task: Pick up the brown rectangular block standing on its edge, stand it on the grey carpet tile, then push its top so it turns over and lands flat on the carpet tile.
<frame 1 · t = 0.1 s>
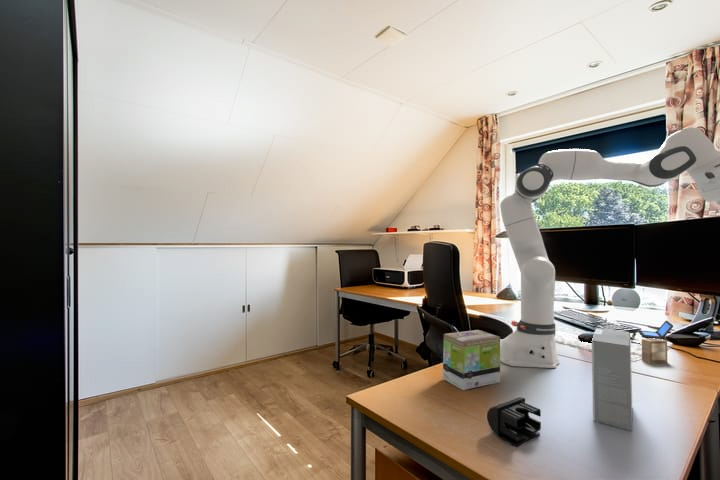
carpet tile: (596, 344, 146), on the table
hard drive box: (613, 414, 84), on the table
tea box: (471, 381, 104), on the table
end cap: (514, 434, 75), on the table
brown rectangular block: (654, 361, 122), on the table
handheld game console: (655, 337, 156), on the table
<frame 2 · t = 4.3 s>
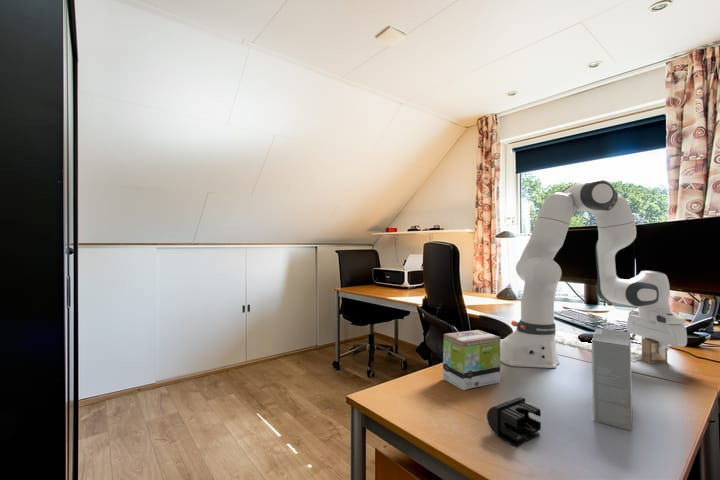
hand: (654, 351, 122), 4 cm above the table, tool pointing down, fingers closed on brown rectangular block, 3 cm apart
brown rectangular block: (654, 361, 122), on the table, touching gripper
when the fingers open (7 cm above the table, at t = 8.3 s): brown rectangular block drops 2 cm, resting on carpet tile.
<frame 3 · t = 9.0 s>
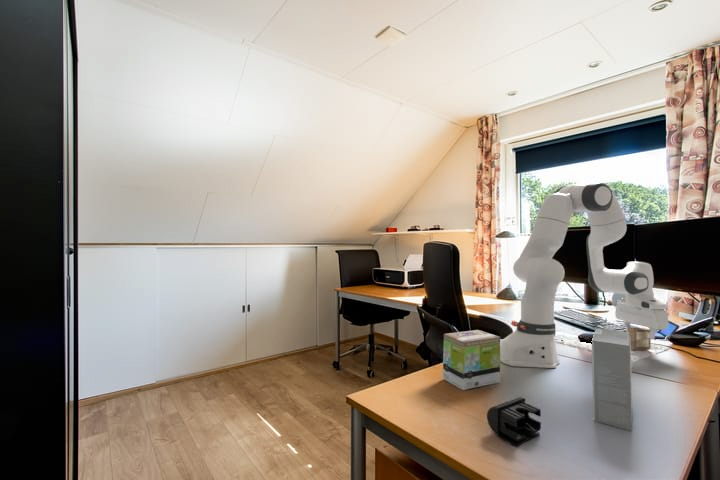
hand: (639, 335, 133), 7 cm above the table, tool pointing down, fingers open, 8 cm apart
carpet tile: (596, 345, 146), on the table, touching brown rectangular block
brown rectangular block: (638, 348, 134), point 1 cm above the table, touching carpet tile
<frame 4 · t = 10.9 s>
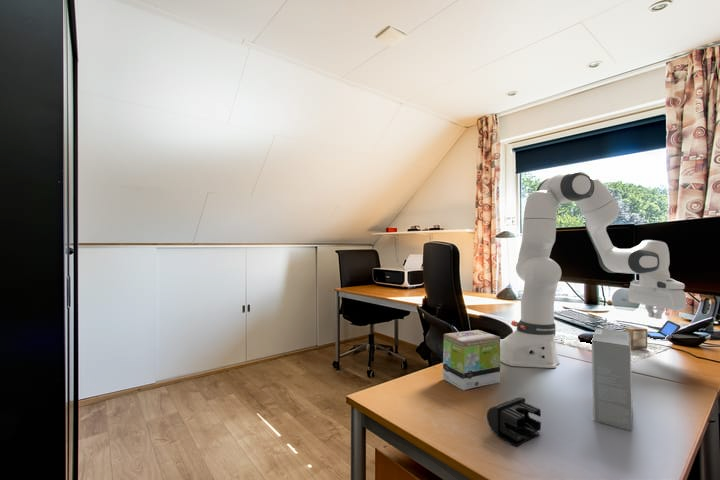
hand: (654, 317, 127), 15 cm above the table, tool pointing down, fingers closed
brown rectangular block: (635, 347, 135), point 1 cm above the table, touching carpet tile
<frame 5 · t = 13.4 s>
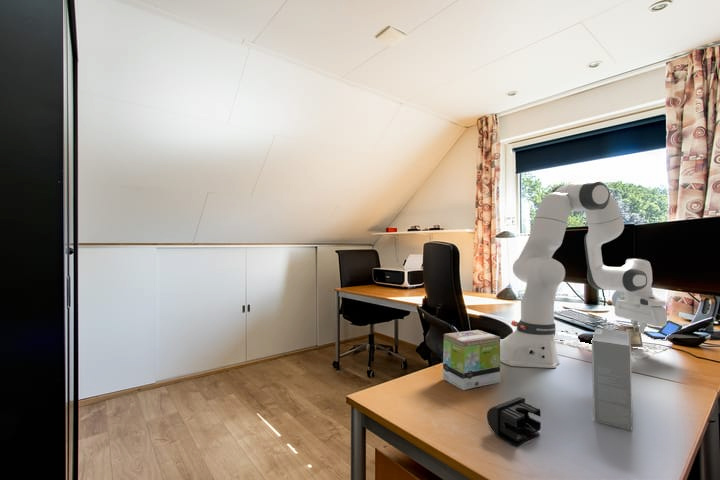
hand: (638, 332, 134), 8 cm above the table, tool pointing down, fingers closed
brown rectangular block: (631, 346, 136), point 1 cm above the table, tilted 10°, touching carpet tile
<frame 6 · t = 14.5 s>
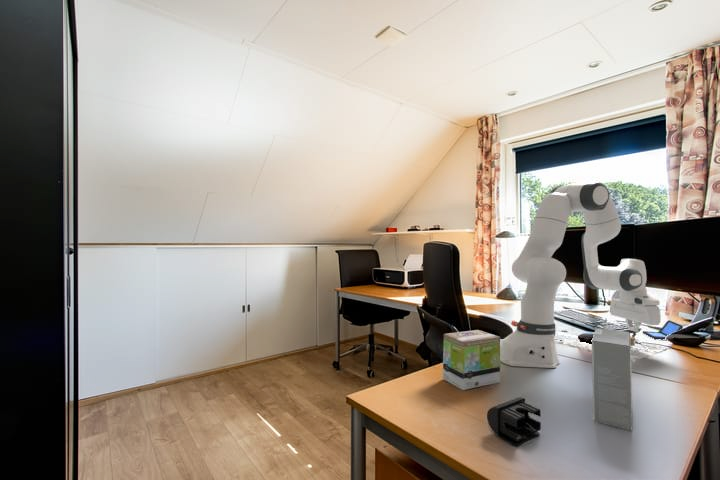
hand: (633, 331, 136), 8 cm above the table, tool pointing down, fingers closed
brown rectangular block: (626, 342, 138), point 3 cm above the table, tilted 90°, touching carpet tile
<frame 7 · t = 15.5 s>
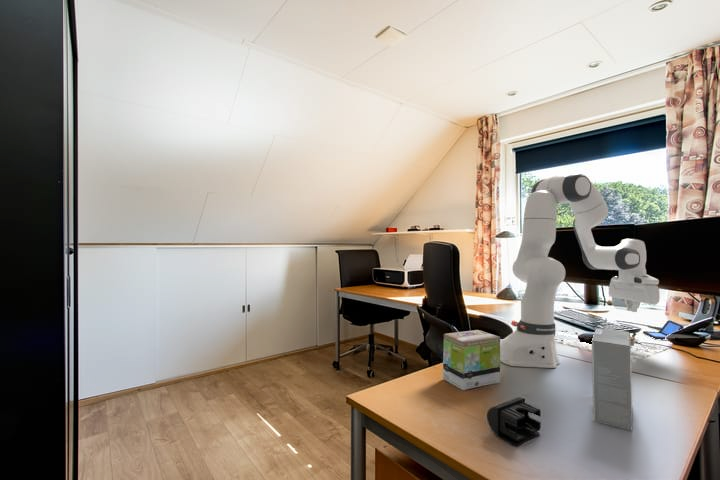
hand: (631, 311, 136), 16 cm above the table, tool pointing down, fingers closed
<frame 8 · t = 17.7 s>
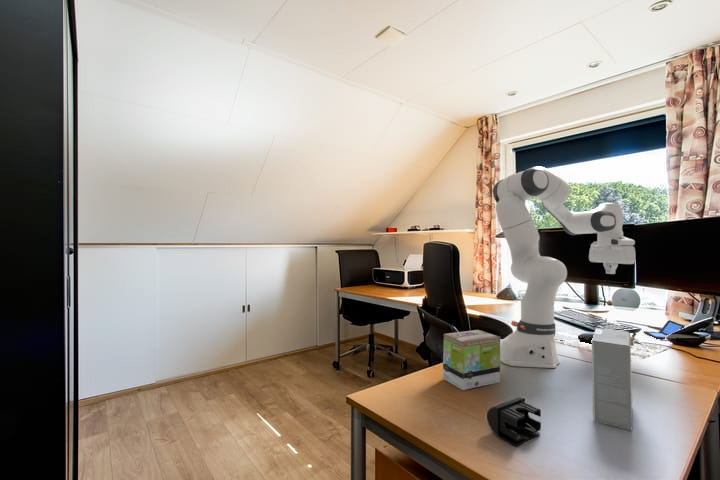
hand: (610, 273, 139), 31 cm above the table, tool pointing down, fingers closed
at the end: brown rectangular block tilted 90°; brown rectangular block inside the target area (2.5 cm from its centre), point 2.6 cm above the table; the gripper is holding nothing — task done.
